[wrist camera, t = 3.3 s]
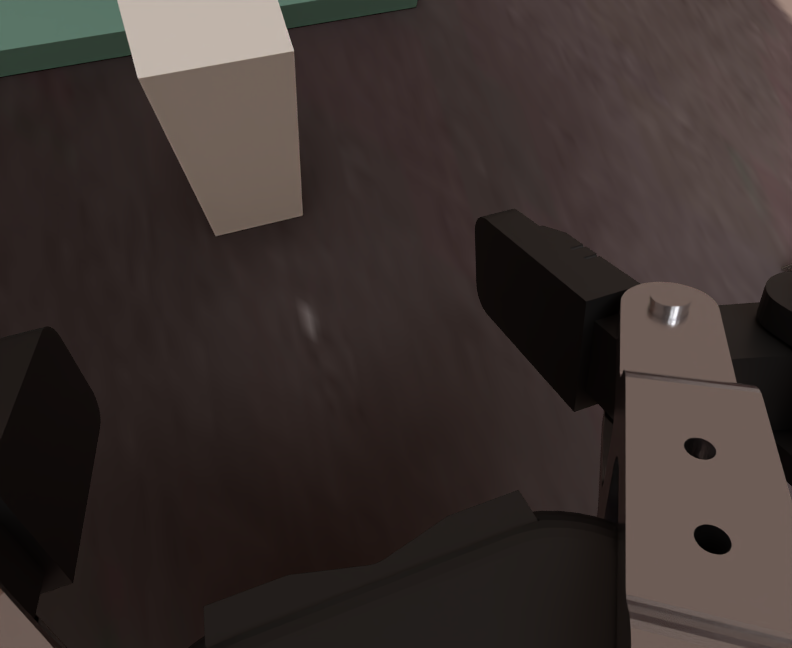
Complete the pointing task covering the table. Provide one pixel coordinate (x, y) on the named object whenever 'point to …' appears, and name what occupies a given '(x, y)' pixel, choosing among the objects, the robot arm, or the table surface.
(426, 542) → the robot arm
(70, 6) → the header board
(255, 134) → the keyed plug
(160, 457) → the table surface
